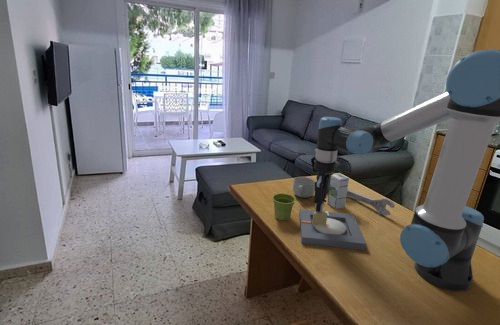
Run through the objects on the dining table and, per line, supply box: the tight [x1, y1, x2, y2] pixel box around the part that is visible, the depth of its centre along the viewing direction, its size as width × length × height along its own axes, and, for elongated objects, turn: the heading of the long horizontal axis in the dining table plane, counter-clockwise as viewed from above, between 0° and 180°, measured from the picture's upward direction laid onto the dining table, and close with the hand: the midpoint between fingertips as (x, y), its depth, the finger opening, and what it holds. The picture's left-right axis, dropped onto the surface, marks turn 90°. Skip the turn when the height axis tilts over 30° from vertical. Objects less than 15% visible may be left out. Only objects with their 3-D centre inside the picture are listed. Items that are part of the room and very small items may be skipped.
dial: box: [312, 212, 346, 235], centre depth 115 cm, size 12×12×6 cm
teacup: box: [292, 176, 317, 199], centre depth 144 cm, size 14×11×8 cm
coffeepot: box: [310, 156, 341, 192], centre depth 155 cm, size 15×9×18 cm, turn 55°
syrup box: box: [327, 173, 350, 210], centre depth 135 cm, size 6×6×14 cm
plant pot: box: [272, 192, 297, 221], centre depth 123 cm, size 9×9×9 cm
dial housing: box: [298, 208, 367, 251], centre depth 116 cm, size 22×22×3 cm
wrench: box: [346, 188, 395, 216], centre depth 138 cm, size 8×2×30 cm
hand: (317, 217), depth 117 cm, fingers closed
